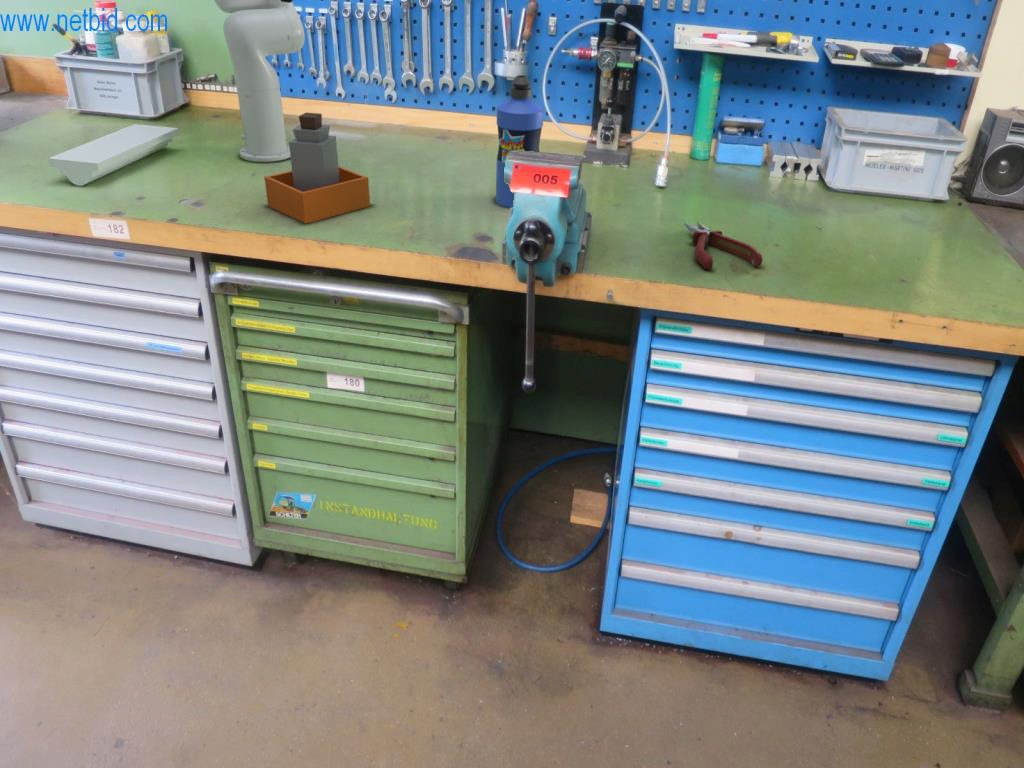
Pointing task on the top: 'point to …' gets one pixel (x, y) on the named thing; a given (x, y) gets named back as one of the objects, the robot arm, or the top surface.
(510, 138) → the water bottle
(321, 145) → the perfume bottle
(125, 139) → the shelf
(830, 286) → the top surface
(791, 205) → the top surface
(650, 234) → the top surface
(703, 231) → the pliers
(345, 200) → the box
